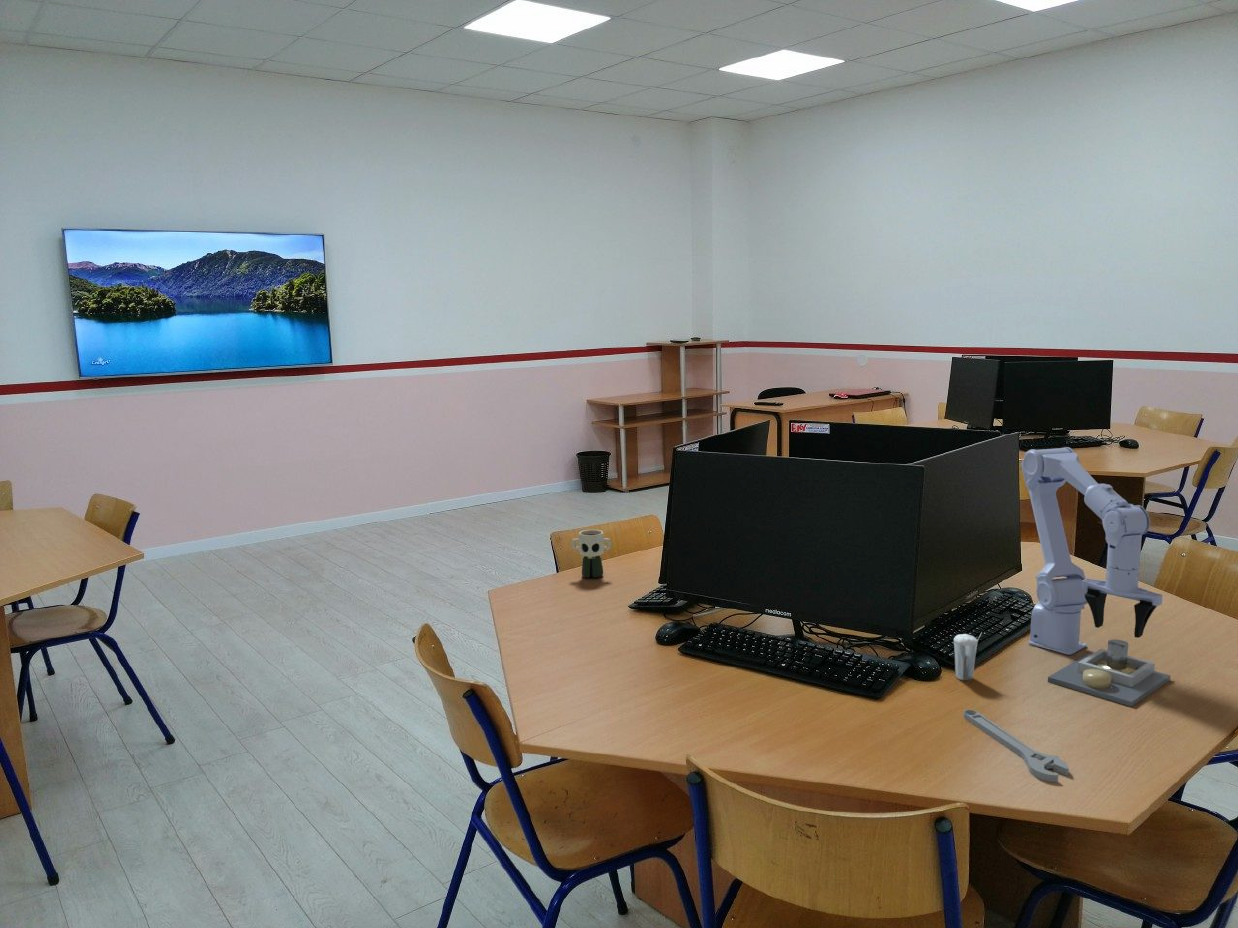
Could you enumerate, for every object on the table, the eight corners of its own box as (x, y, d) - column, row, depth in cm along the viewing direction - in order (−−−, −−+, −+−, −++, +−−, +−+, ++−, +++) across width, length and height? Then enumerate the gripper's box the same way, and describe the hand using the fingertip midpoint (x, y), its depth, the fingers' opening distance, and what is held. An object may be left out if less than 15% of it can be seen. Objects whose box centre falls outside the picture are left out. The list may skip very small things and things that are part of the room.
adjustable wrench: (959, 718, 174) (959, 709, 174) (991, 714, 175) (991, 705, 175) (1041, 784, 149) (1042, 774, 149) (1078, 780, 151) (1078, 770, 150)
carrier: (1047, 681, 187) (1048, 667, 186) (1088, 657, 198) (1089, 644, 198) (1131, 706, 175) (1132, 691, 174) (1170, 679, 186) (1171, 665, 185)
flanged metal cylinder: (1090, 671, 189) (1092, 642, 188) (1106, 661, 193) (1108, 633, 192) (1126, 681, 183) (1128, 652, 182) (1141, 671, 188) (1144, 642, 187)
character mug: (572, 580, 264) (570, 535, 261) (575, 572, 271) (573, 529, 268) (610, 579, 263) (608, 535, 260) (612, 572, 270) (611, 529, 267)
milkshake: (982, 682, 187) (984, 636, 186) (954, 681, 188) (955, 634, 187) (978, 673, 192) (980, 628, 190) (950, 672, 193) (952, 626, 191)
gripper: (1170, 569, 181) (1165, 635, 184) (1094, 554, 192) (1090, 617, 195) (1155, 577, 177) (1150, 644, 179) (1078, 561, 188) (1074, 625, 190)
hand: (1118, 631), depth 187 cm, fingers open, 7 cm apart
